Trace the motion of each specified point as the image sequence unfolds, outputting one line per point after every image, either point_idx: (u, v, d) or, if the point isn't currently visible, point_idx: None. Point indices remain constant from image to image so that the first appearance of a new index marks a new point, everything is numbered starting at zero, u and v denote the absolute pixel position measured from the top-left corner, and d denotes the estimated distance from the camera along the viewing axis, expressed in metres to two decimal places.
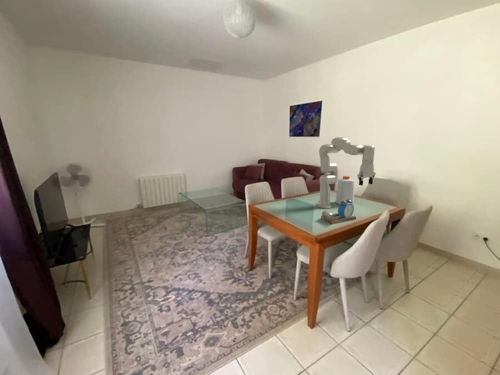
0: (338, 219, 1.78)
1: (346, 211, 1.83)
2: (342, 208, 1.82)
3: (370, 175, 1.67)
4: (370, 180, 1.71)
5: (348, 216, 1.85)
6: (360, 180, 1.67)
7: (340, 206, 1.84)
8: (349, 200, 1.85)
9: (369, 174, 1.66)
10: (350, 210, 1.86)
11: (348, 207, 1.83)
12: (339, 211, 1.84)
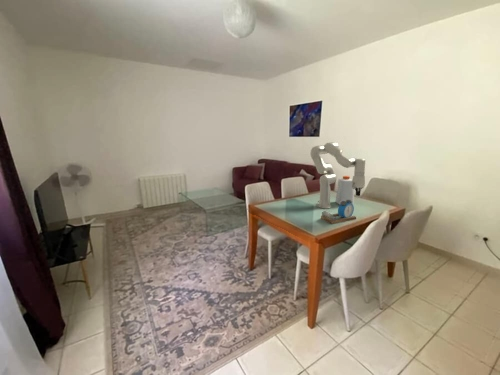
0: (338, 219, 1.78)
1: (346, 211, 1.83)
2: (342, 208, 1.82)
3: (362, 185, 1.84)
4: None
5: (348, 216, 1.85)
6: (357, 191, 1.86)
7: (340, 206, 1.84)
8: (349, 200, 1.85)
9: (360, 184, 1.83)
10: (350, 210, 1.86)
11: (348, 207, 1.84)
12: (339, 211, 1.84)
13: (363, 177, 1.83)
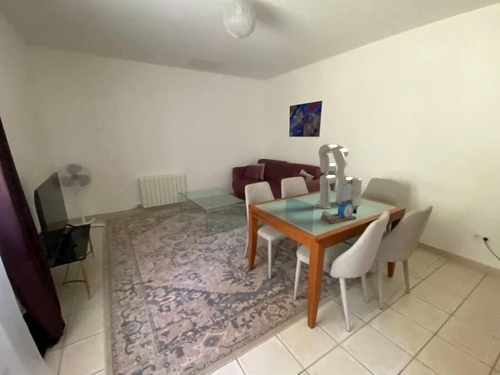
0: (338, 219, 1.78)
1: (346, 211, 1.83)
2: (342, 208, 1.82)
3: (358, 204, 1.87)
4: None
5: (348, 216, 1.85)
6: None
7: (340, 206, 1.84)
8: (349, 200, 1.85)
9: (357, 203, 1.86)
10: (350, 210, 1.86)
11: (348, 207, 1.83)
12: (339, 211, 1.84)
13: (360, 196, 1.86)
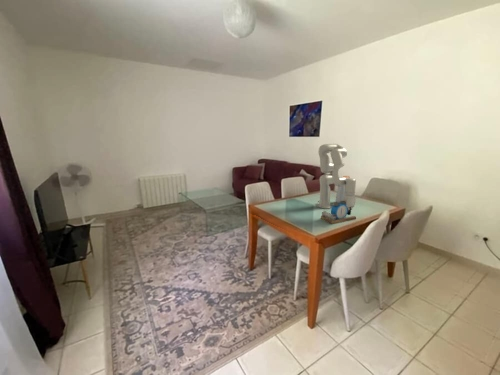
0: (338, 219, 1.78)
1: (339, 212, 1.81)
2: (334, 209, 1.80)
3: (352, 205, 1.84)
4: None
5: (341, 217, 1.83)
6: None
7: (333, 207, 1.82)
8: (342, 201, 1.82)
9: (351, 204, 1.84)
10: (344, 211, 1.83)
11: (341, 208, 1.81)
12: (332, 212, 1.83)
13: (354, 197, 1.83)
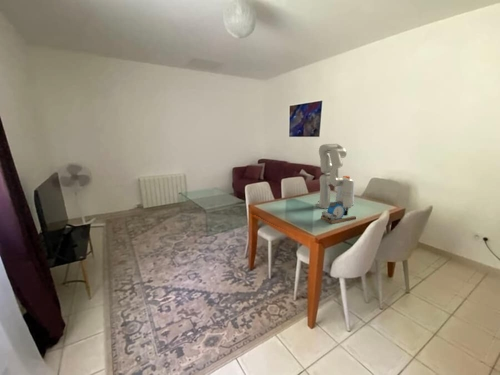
0: (338, 219, 1.78)
1: (335, 213, 1.80)
2: (331, 210, 1.79)
3: (349, 205, 1.83)
4: None
5: (338, 218, 1.81)
6: None
7: (329, 207, 1.81)
8: (339, 201, 1.81)
9: (348, 204, 1.82)
10: (340, 212, 1.82)
11: (338, 209, 1.80)
12: (328, 212, 1.81)
13: (350, 197, 1.82)
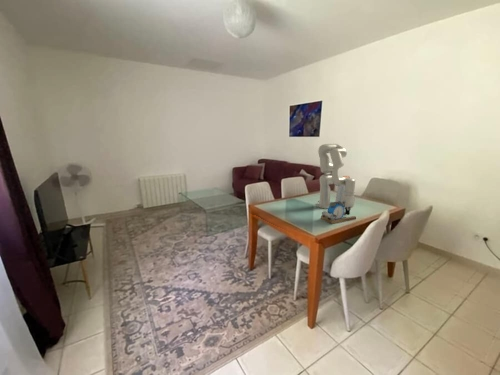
0: (338, 219, 1.78)
1: (336, 213, 1.80)
2: (331, 209, 1.79)
3: (351, 205, 1.85)
4: None
5: (338, 218, 1.82)
6: (346, 210, 1.87)
7: (329, 207, 1.81)
8: (339, 202, 1.81)
9: (350, 204, 1.84)
10: (340, 212, 1.82)
11: (338, 209, 1.80)
12: (328, 212, 1.81)
13: (353, 197, 1.83)
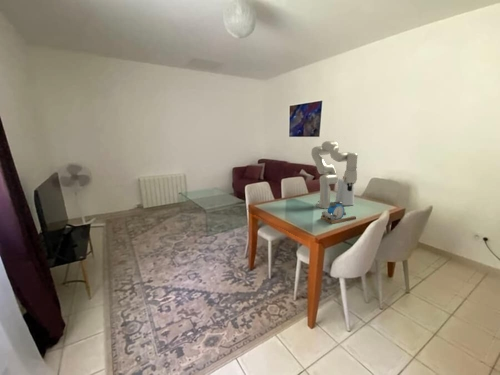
0: (338, 219, 1.78)
1: (336, 213, 1.80)
2: (331, 209, 1.79)
3: (353, 180, 1.80)
4: None
5: (338, 218, 1.82)
6: (348, 186, 1.82)
7: (329, 207, 1.81)
8: (339, 202, 1.81)
9: (352, 179, 1.79)
10: (340, 212, 1.82)
11: (338, 209, 1.80)
12: (328, 212, 1.81)
13: (355, 172, 1.79)
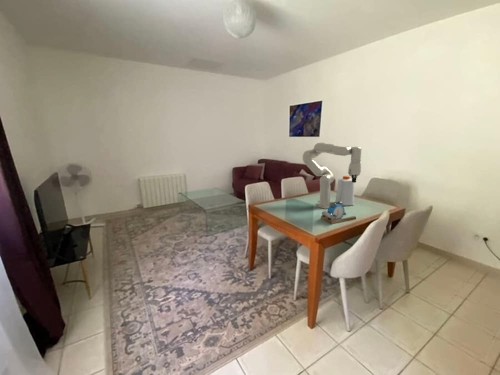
0: (338, 219, 1.78)
1: (336, 213, 1.80)
2: (331, 209, 1.79)
3: (358, 172, 1.92)
4: None
5: (338, 218, 1.82)
6: (353, 178, 1.94)
7: (329, 207, 1.81)
8: (339, 202, 1.81)
9: (356, 171, 1.91)
10: (340, 212, 1.82)
11: (338, 209, 1.80)
12: (328, 212, 1.81)
13: (359, 164, 1.90)
